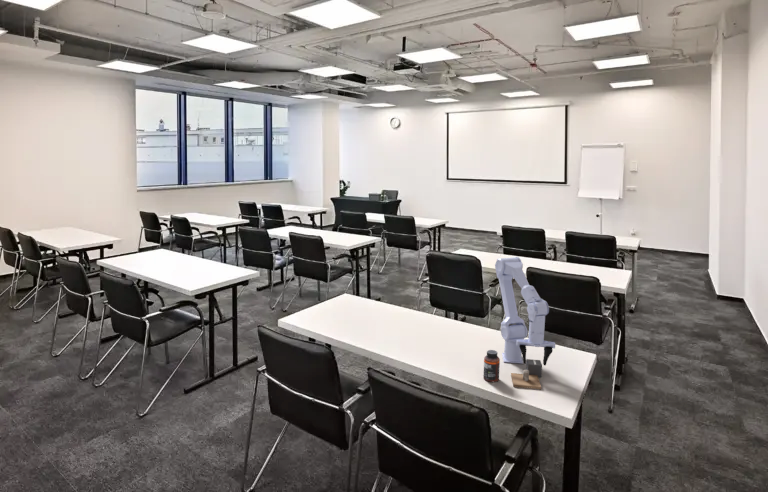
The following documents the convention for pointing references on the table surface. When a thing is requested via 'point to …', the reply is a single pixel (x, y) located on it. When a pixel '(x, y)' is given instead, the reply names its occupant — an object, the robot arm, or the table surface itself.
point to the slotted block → (534, 367)
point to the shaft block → (525, 380)
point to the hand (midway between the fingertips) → (534, 363)
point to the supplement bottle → (491, 366)
